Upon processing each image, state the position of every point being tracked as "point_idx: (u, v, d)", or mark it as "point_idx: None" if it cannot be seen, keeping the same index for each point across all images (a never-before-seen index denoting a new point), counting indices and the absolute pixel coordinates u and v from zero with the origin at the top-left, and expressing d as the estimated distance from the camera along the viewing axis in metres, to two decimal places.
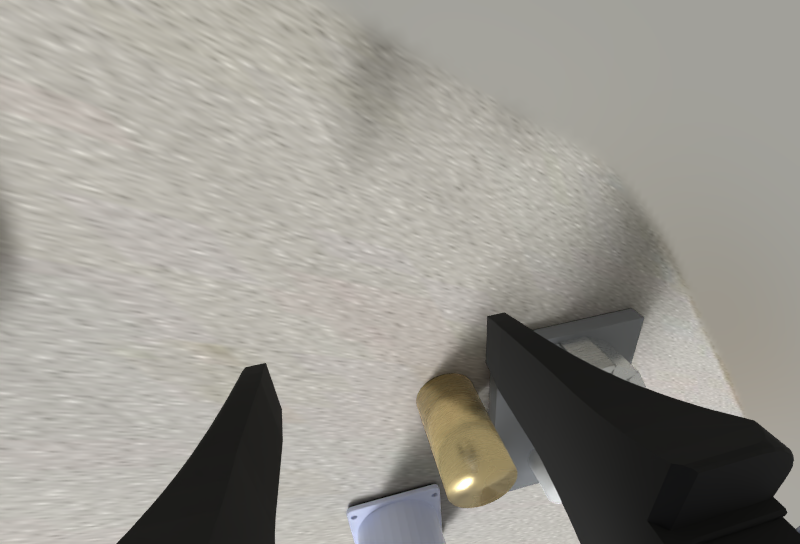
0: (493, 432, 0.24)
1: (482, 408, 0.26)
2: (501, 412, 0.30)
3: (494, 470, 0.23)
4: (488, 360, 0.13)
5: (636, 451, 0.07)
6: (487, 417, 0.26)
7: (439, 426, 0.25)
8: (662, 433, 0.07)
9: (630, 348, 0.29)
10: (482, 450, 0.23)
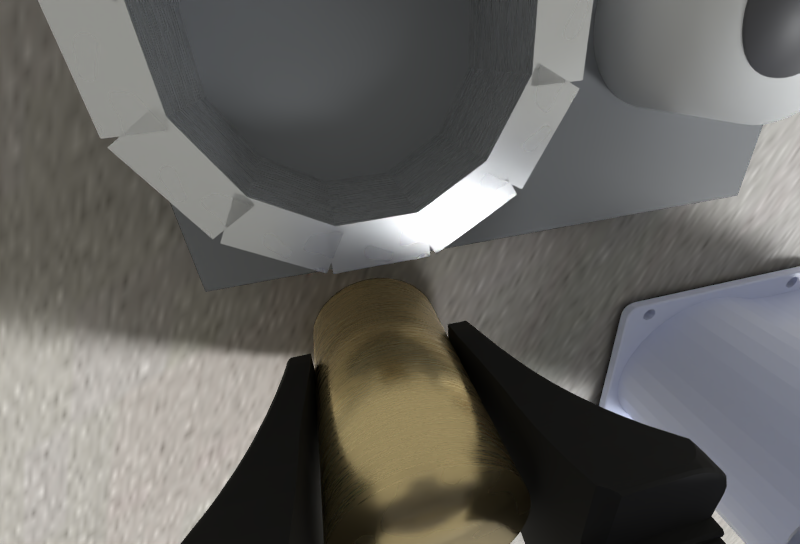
0: (337, 423, 0.09)
1: (335, 361, 0.11)
2: None
3: (377, 532, 0.08)
4: None
5: (568, 470, 0.07)
6: (338, 379, 0.10)
7: None
8: (596, 451, 0.07)
9: None
10: None
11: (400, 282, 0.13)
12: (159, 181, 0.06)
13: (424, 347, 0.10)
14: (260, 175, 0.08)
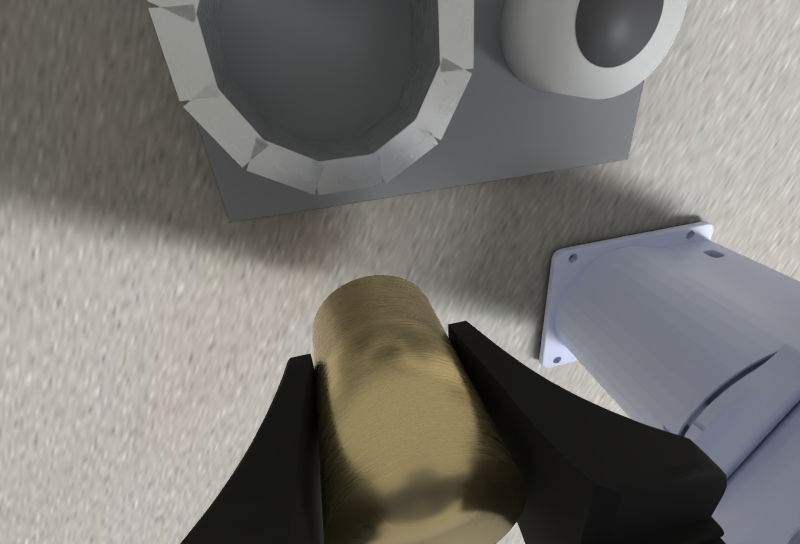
0: (336, 416, 0.09)
1: (334, 356, 0.11)
2: (389, 185, 0.16)
3: (376, 522, 0.08)
4: None
5: (569, 470, 0.07)
6: (337, 373, 0.10)
7: None
8: (596, 451, 0.07)
9: None
10: None
11: (398, 279, 0.13)
12: (211, 128, 0.11)
13: (422, 341, 0.10)
14: (270, 131, 0.12)
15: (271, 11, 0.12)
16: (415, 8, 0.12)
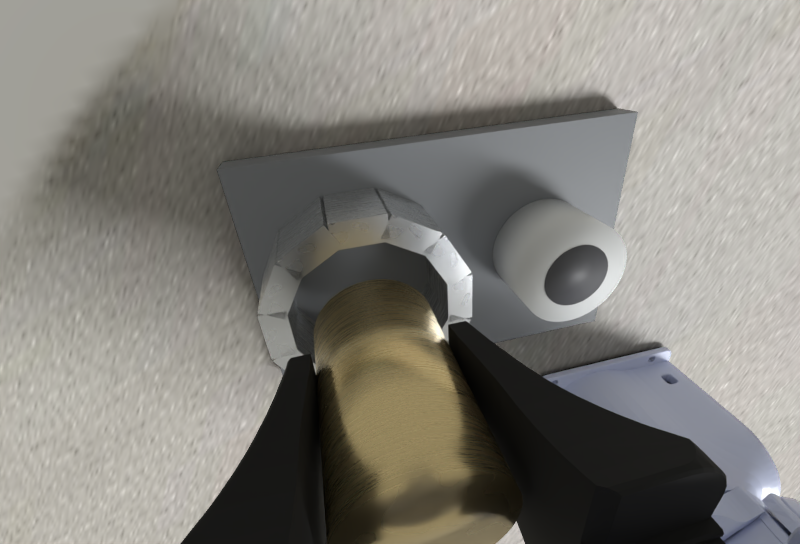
0: (339, 426, 0.09)
1: (336, 362, 0.11)
2: None
3: (378, 530, 0.08)
4: None
5: (568, 470, 0.07)
6: (340, 381, 0.10)
7: None
8: (596, 451, 0.07)
9: (296, 172, 0.15)
10: (325, 523, 0.09)
11: (399, 283, 0.13)
12: None
13: (423, 351, 0.11)
14: None
15: (327, 264, 0.17)
16: None
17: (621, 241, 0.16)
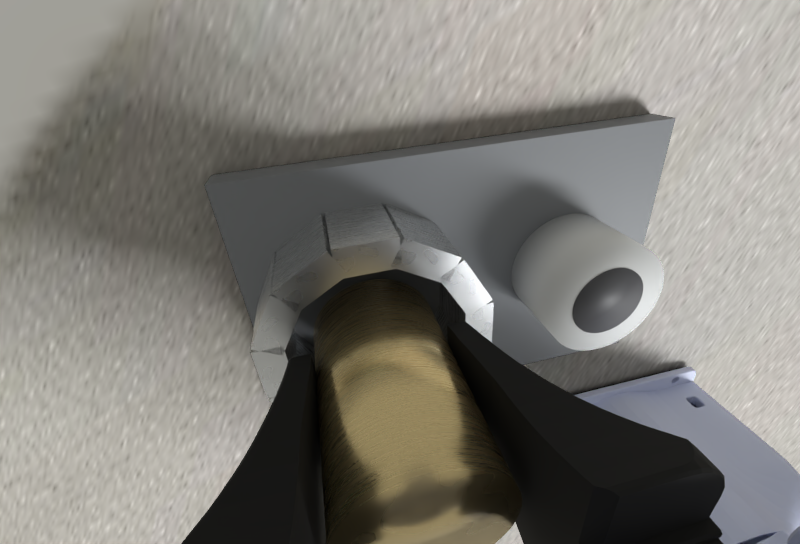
0: (339, 425, 0.09)
1: (336, 362, 0.11)
2: None
3: (377, 530, 0.08)
4: None
5: (567, 471, 0.07)
6: (339, 381, 0.10)
7: None
8: (594, 452, 0.07)
9: (295, 187, 0.13)
10: (325, 523, 0.09)
11: (399, 283, 0.13)
12: None
13: (423, 351, 0.11)
14: None
15: None
16: None
17: (659, 263, 0.14)
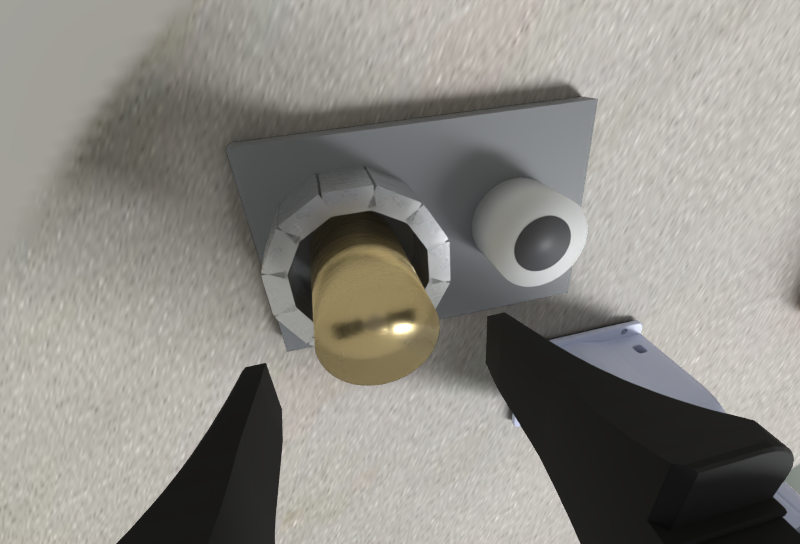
0: (323, 278, 0.14)
1: (323, 252, 0.16)
2: None
3: (345, 327, 0.13)
4: (488, 360, 0.13)
5: (636, 451, 0.07)
6: (325, 259, 0.15)
7: None
8: (662, 433, 0.07)
9: (294, 151, 0.17)
10: None
11: (370, 212, 0.19)
12: (290, 326, 0.17)
13: (381, 241, 0.16)
14: None
15: None
16: (414, 231, 0.19)
17: (582, 213, 0.18)
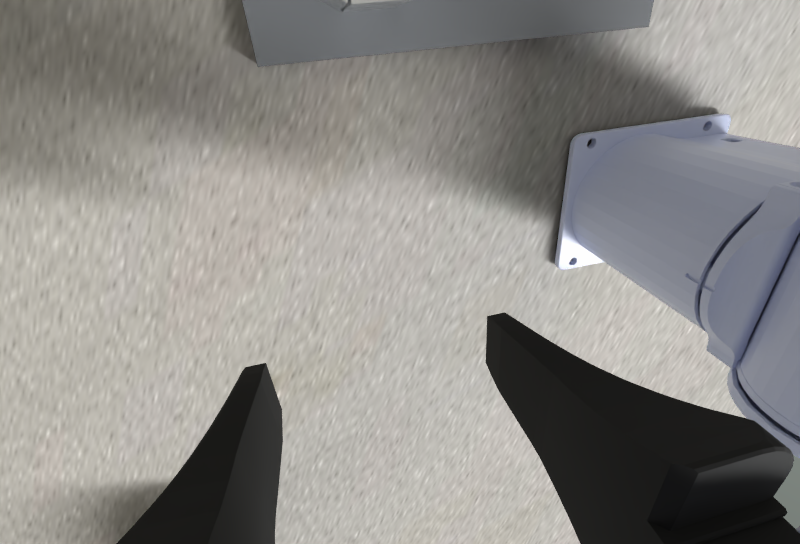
0: None
1: None
2: (414, 37, 0.16)
3: None
4: (488, 360, 0.13)
5: (636, 451, 0.07)
6: None
7: None
8: (662, 433, 0.07)
9: None
10: None
11: None
12: None
13: None
14: None
15: None
16: None
17: None
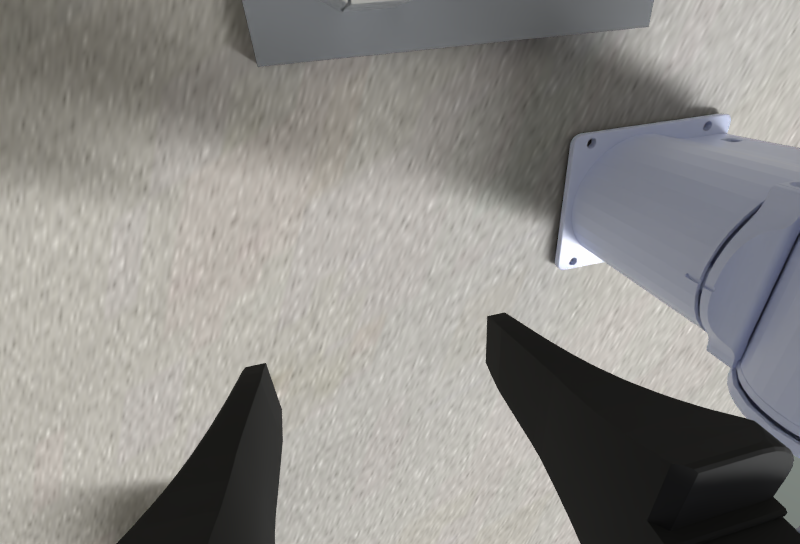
0: None
1: None
2: (414, 37, 0.16)
3: None
4: (488, 360, 0.13)
5: (636, 451, 0.07)
6: None
7: None
8: (662, 433, 0.07)
9: None
10: None
11: None
12: None
13: None
14: None
15: None
16: None
17: None
